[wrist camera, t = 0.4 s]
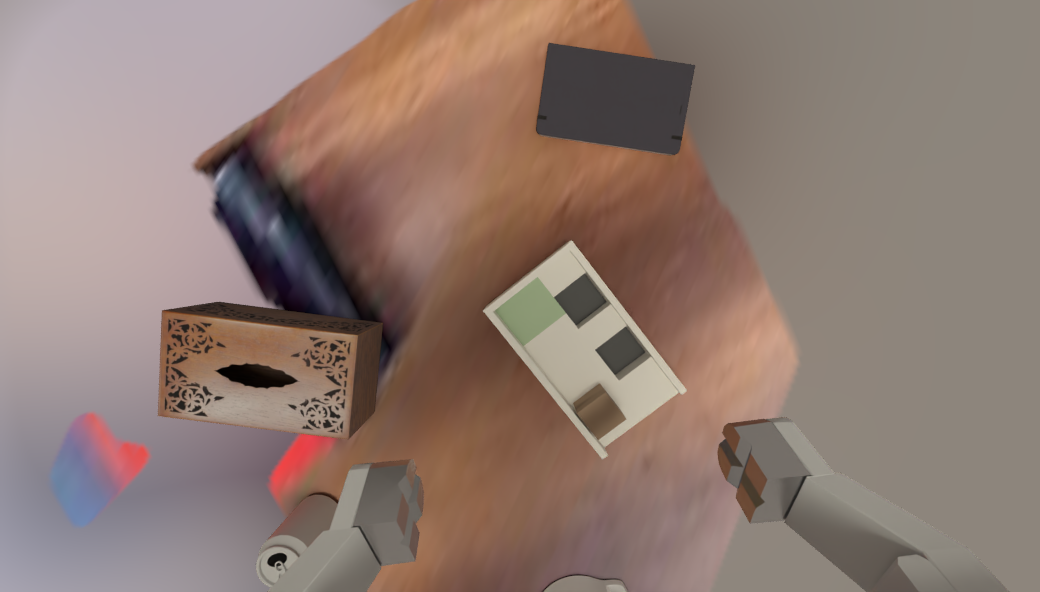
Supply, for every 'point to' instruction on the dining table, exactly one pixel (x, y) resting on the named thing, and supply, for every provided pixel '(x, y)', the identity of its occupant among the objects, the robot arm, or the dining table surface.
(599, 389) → the walnut block
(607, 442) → the box
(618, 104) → the notebook
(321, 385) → the tissue box cover
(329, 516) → the can
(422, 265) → the dining table surface
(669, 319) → the dining table surface
